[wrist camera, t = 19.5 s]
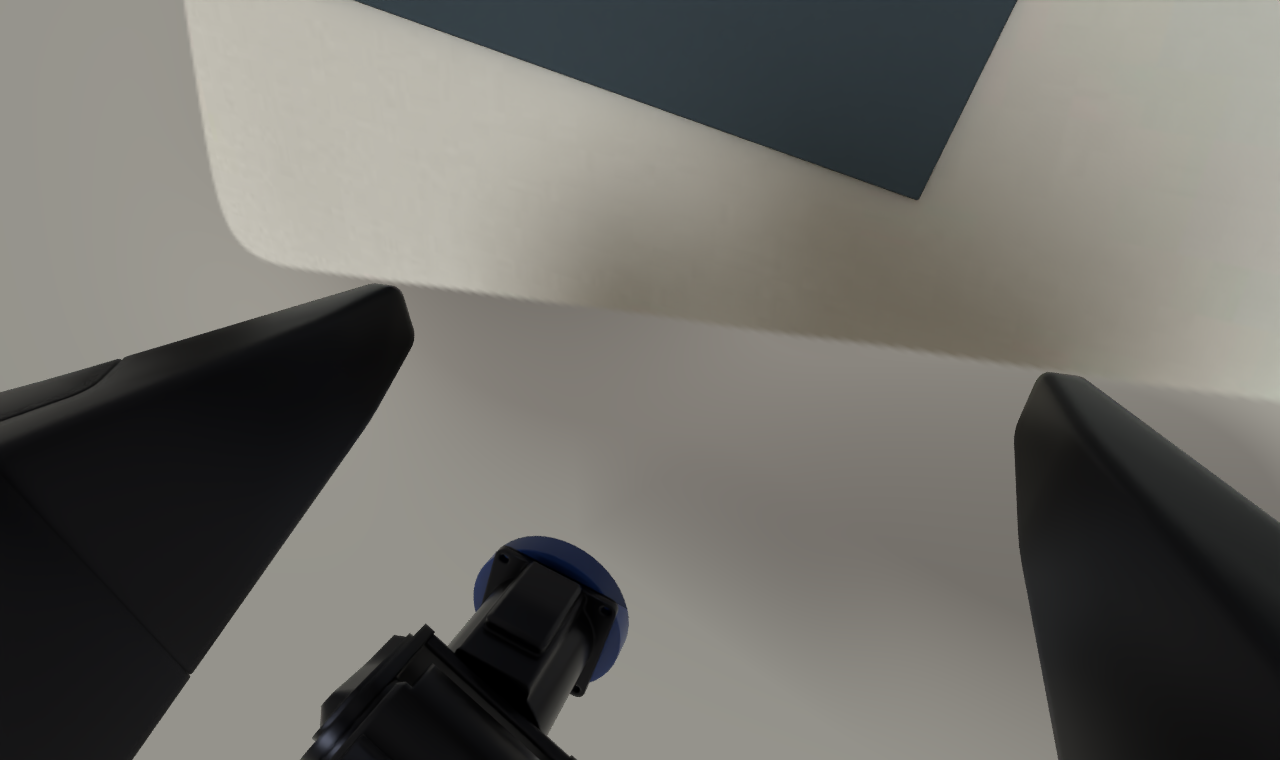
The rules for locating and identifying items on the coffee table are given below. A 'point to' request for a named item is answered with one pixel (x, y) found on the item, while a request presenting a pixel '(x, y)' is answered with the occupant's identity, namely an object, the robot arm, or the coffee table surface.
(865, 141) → the slate mat
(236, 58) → the coffee table surface
